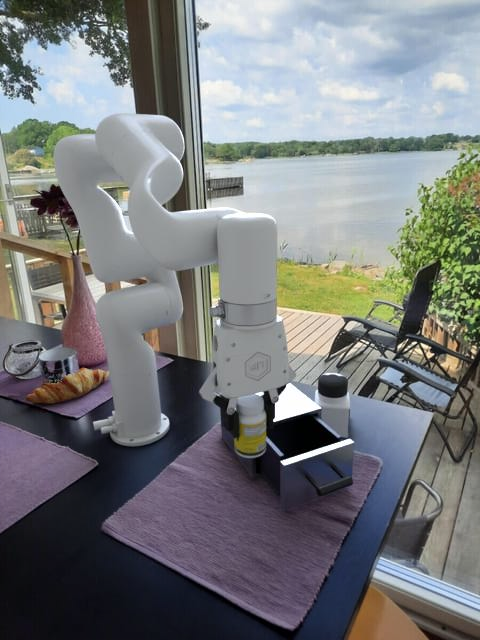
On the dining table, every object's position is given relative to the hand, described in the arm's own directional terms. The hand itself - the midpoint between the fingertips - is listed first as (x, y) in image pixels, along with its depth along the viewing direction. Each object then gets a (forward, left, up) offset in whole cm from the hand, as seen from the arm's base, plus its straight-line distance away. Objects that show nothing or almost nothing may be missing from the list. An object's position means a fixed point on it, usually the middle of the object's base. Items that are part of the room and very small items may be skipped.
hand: (249, 427), depth 64 cm
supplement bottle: (0, 0, -4) cm, 4 cm away
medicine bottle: (+27, +16, -17) cm, 36 cm away
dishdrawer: (+12, +16, -17) cm, 27 cm away
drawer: (+12, +3, -16) cm, 20 cm away
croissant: (-22, +59, -17) cm, 66 cm away
